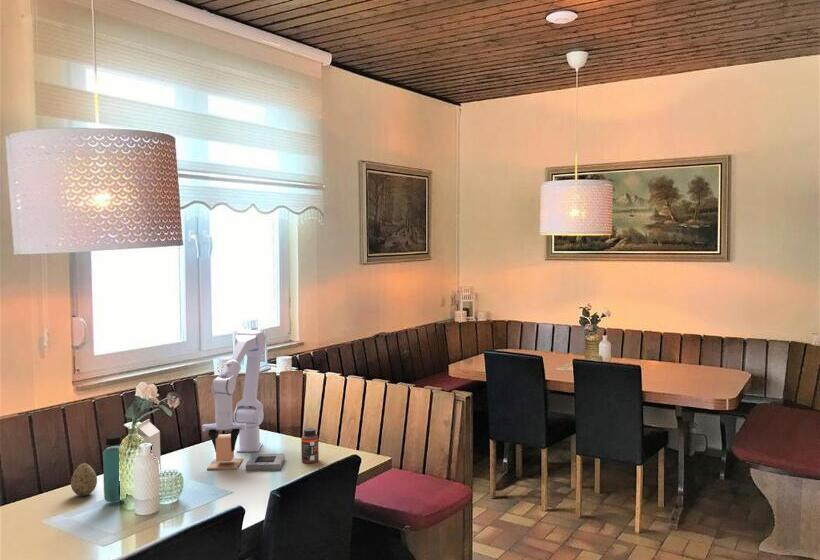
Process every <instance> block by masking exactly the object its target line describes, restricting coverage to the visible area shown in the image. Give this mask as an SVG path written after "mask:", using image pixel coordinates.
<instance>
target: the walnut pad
mask: <svg viewBox="0 0 820 560" xmlns="http://www.w3.org/2000/svg"><path fill="white" fill-rule="evenodd" d="M243 460H244V459H243V458H233V459H232V461H226V462H216V458H214V459H213V460H212V461H211V462H210V464H209V465H208V466H207V468H206V471H224V470H225V471H228V470H229V471H232V470H235V469H237V468H238V469H239V467H240V466H241V464H242V462H243ZM238 469H237V470H238Z"/></svg>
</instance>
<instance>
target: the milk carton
mask: <svg viewBox="0 0 820 560" xmlns="http://www.w3.org/2000/svg"><path fill="white" fill-rule="evenodd" d="M139 424H140V423H139ZM138 434H139V435H140V436H142V437H143V438H144V440H145V442H147V443H151V444H152V445H153V446H152V450H151V452H152V454H154V455H155V456H156V457H157V458H158V460H159V464H160V470H161V471H162V467H161V465H162V461H161V459H162V458H161V431H160V430H159V429H158V428H157V427H156V426H155V425H154V424H153V423H152V422H151V421H150V418H148V419H146V420H144V421H142V422H141V424H140V425H139V426H138Z"/></svg>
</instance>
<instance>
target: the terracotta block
mask: <svg viewBox="0 0 820 560" xmlns="http://www.w3.org/2000/svg"><path fill="white" fill-rule="evenodd" d="M234 457H235V450H234V451H232V449H231V434H230V433H228V434H227V433H224V434H219V433H218V436H217V438H216V452H215V459H216V462H226V461H232V459H235V458H234Z"/></svg>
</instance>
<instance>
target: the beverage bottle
mask: <svg viewBox="0 0 820 560" xmlns="http://www.w3.org/2000/svg"><path fill="white" fill-rule="evenodd" d="M105 441H106V442H105V445H106V446H109V447H106V448H105V449H104V450H103V451H102V463H103V470H102V471H103V475H102V476H103V479H102V480H103V483H102V484H103V497H104V501H106V503H107V502H108V503H116V502H120V481H119V448H120V445H121V444H122V438H121V435H116V434H114V435H109V436H106V440H105Z"/></svg>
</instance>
